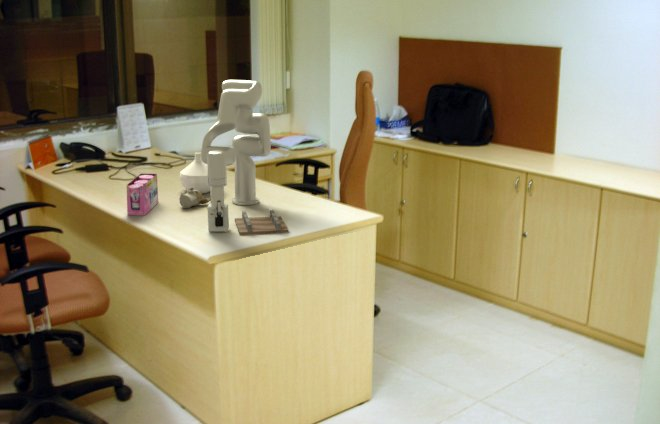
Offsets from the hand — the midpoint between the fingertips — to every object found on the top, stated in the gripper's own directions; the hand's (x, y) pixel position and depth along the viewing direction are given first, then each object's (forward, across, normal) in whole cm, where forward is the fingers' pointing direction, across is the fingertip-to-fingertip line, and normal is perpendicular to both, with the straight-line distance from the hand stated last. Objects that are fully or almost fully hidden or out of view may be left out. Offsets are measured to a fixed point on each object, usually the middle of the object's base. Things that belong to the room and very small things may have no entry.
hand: (218, 223), depth 319 cm
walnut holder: (+3, -2, +18) cm, 18 cm away
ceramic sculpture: (+4, -39, -8) cm, 40 cm away
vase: (+4, -64, -4) cm, 65 cm away
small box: (+3, 0, 0) cm, 3 cm away
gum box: (+4, -38, -30) cm, 49 cm away
